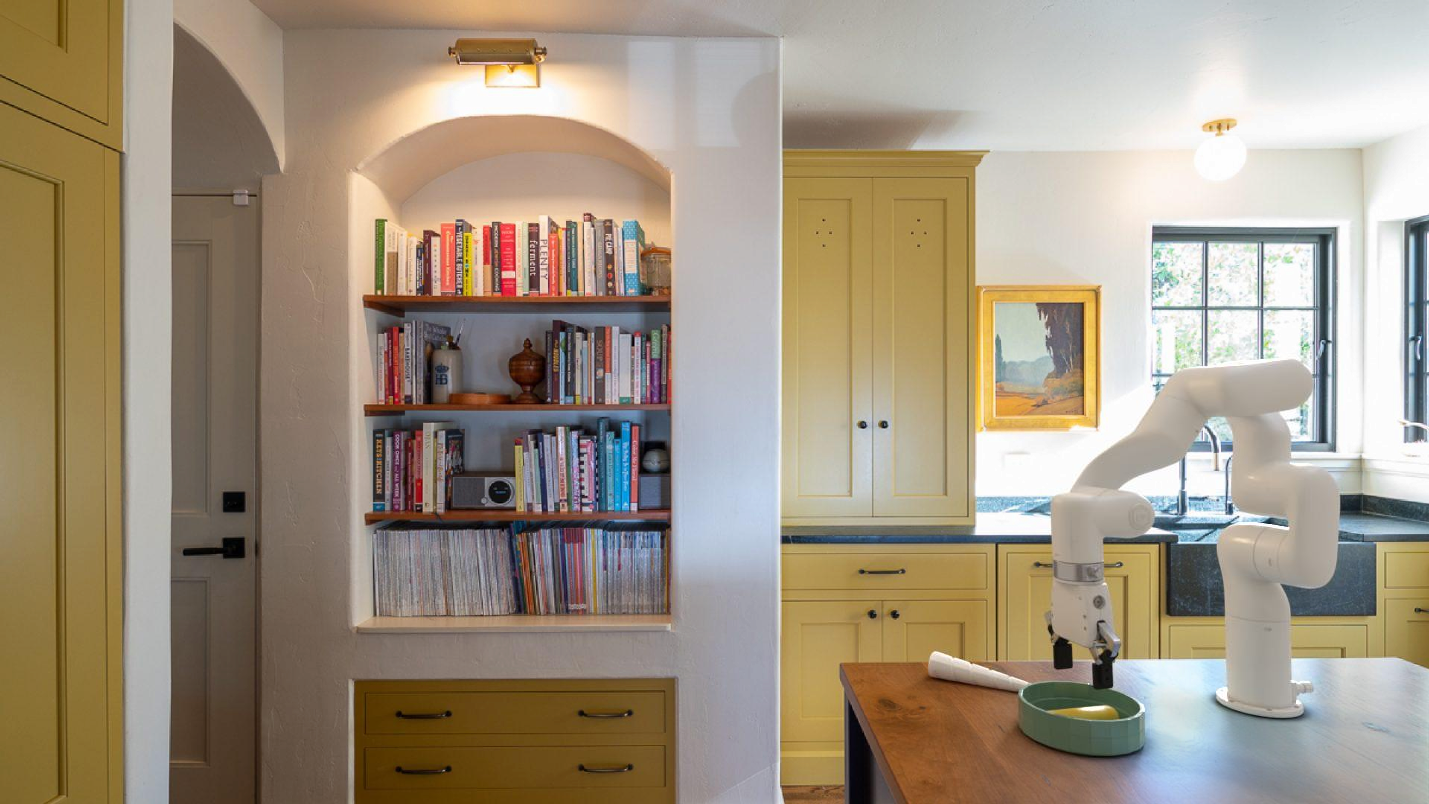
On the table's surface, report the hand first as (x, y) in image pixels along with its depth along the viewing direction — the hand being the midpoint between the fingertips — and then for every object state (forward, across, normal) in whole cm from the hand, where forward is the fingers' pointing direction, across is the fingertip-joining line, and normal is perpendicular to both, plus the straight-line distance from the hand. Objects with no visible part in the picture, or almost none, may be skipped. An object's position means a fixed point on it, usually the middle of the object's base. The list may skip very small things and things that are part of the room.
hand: (1082, 678), depth 129 cm
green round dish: (+9, 0, +1) cm, 9 cm away
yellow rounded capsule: (+8, 0, +1) cm, 8 cm away
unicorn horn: (+9, +24, +3) cm, 26 cm away
